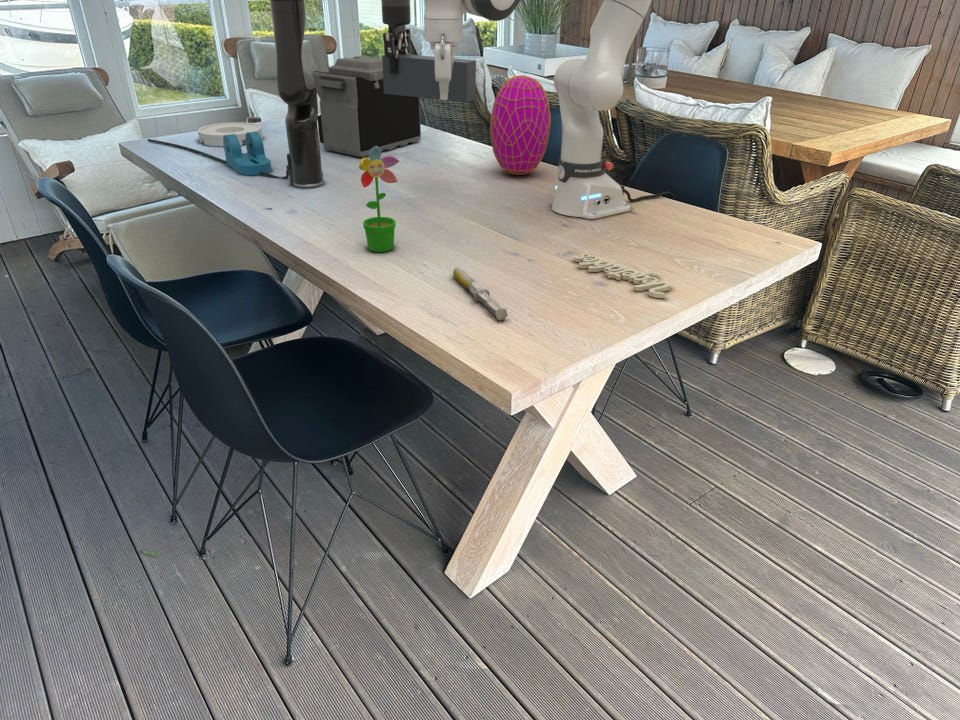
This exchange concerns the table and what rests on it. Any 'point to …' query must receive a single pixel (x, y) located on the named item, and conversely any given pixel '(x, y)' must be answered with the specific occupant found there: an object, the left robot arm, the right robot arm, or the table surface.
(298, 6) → the left robot arm
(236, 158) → the camera mount
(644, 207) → the table surface
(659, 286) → the decorative sign
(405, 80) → the box
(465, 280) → the syringe
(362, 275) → the table surface
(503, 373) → the table surface
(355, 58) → the cooler
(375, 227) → the potted flower
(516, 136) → the decorative egg
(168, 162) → the table surface
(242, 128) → the ashtray
